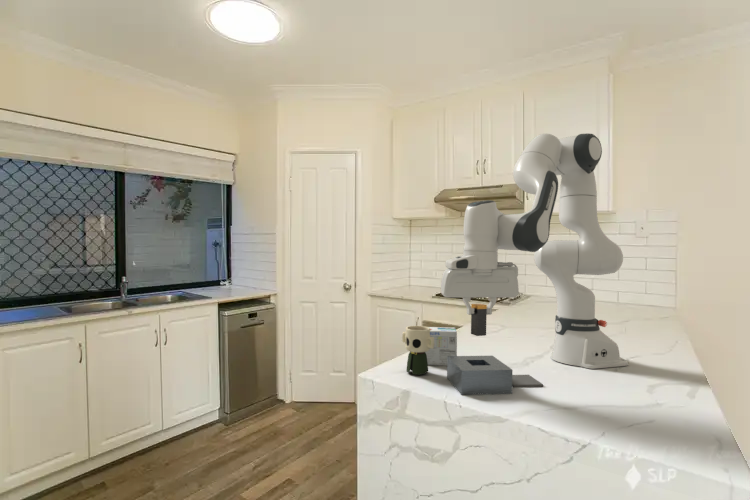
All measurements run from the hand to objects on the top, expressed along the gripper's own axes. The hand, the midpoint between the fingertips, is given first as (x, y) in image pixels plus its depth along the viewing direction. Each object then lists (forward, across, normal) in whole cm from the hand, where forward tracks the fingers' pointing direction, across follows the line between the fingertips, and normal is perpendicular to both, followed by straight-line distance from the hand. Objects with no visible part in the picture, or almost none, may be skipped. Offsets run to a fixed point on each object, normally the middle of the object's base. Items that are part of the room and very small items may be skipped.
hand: (479, 314), depth 108 cm
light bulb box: (+19, +5, -21) cm, 29 cm away
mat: (+19, -13, -2) cm, 23 cm away
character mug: (+19, +14, -11) cm, 26 cm away
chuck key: (+5, 0, 0) cm, 5 cm away
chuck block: (+19, 0, -2) cm, 19 cm away
